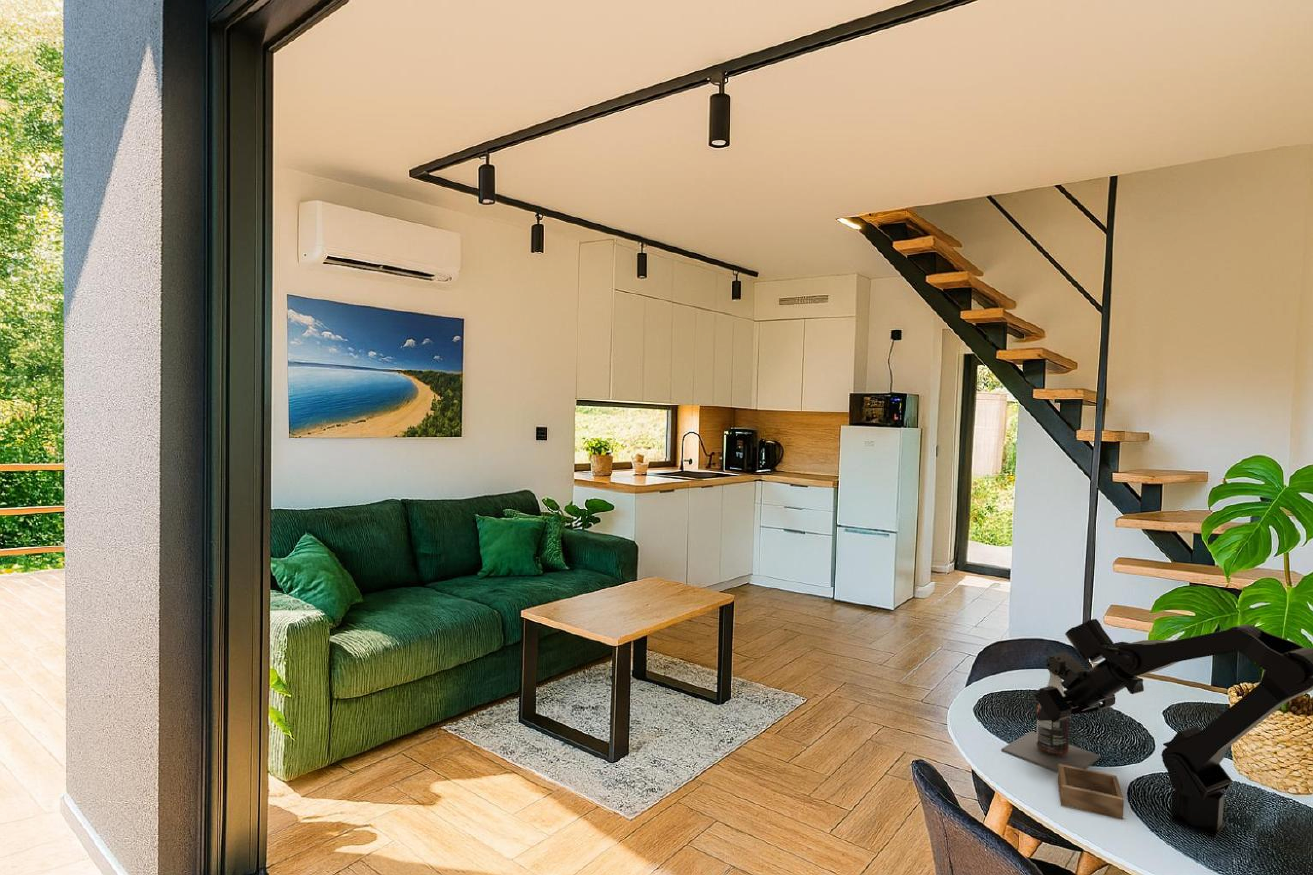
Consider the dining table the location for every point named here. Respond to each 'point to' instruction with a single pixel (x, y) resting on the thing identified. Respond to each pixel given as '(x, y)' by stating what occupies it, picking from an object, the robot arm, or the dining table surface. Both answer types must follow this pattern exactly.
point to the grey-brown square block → (1031, 752)
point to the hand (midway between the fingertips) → (1047, 715)
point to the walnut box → (1090, 799)
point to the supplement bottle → (1053, 735)
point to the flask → (1056, 682)
